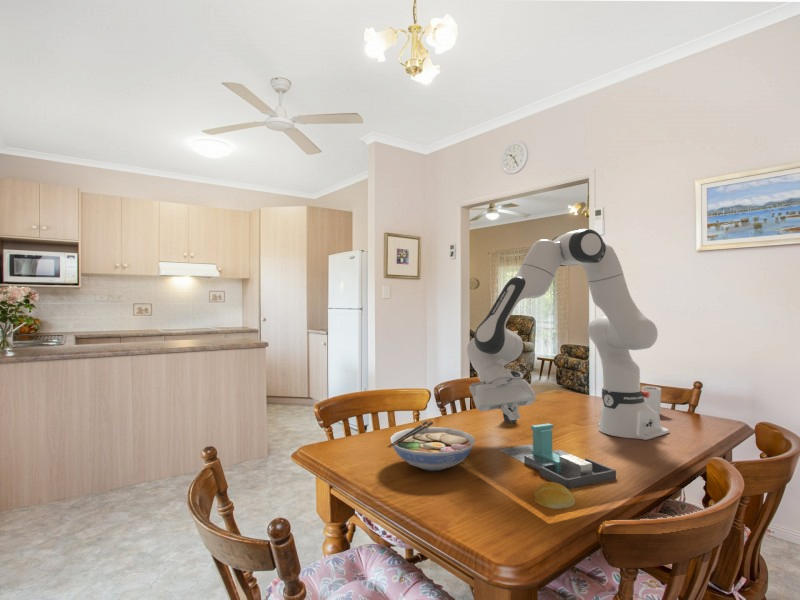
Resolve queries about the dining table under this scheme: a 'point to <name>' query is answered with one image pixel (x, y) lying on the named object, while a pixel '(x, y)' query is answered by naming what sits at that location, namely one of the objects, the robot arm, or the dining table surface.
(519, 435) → the dining table surface
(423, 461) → the ramen bowl
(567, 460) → the beige cube
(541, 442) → the rake tool
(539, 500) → the bread roll
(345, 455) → the dining table surface
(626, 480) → the dining table surface
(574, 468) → the chip
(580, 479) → the tray
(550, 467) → the slot board
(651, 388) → the drinking glass
